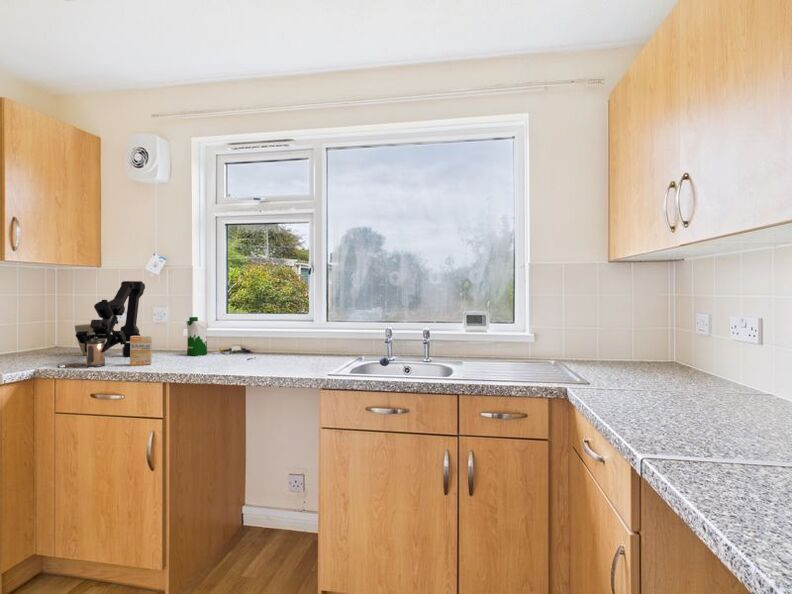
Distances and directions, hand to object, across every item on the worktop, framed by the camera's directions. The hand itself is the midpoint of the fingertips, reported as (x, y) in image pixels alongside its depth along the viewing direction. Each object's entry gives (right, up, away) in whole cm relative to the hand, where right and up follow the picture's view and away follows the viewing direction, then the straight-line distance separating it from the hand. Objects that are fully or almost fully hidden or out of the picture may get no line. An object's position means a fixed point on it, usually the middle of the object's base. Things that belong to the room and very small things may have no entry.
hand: (94, 351), depth 190 cm
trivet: (-11, -7, +2) cm, 13 cm away
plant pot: (-29, -7, +40) cm, 50 cm away
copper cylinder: (0, -7, +1) cm, 7 cm away
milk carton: (+28, -7, +38) cm, 48 cm away
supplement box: (+17, -7, +6) cm, 19 cm away
